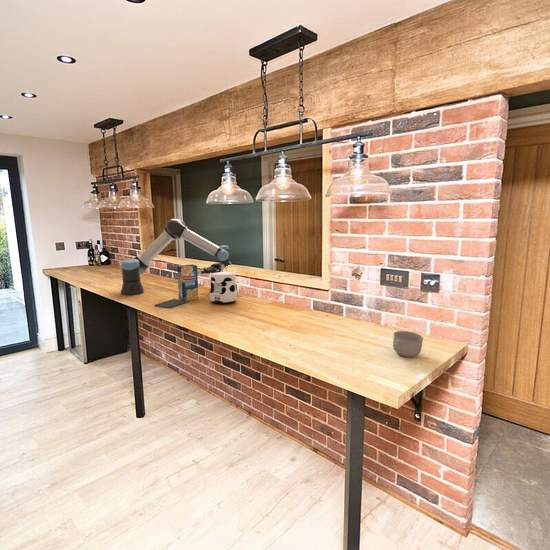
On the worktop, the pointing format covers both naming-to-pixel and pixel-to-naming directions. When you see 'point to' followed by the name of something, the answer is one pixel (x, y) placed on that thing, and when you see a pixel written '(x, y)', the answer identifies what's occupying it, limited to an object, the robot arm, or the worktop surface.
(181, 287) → the beverage box
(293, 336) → the worktop surface
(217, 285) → the milk container
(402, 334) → the teacup
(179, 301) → the bar mat
